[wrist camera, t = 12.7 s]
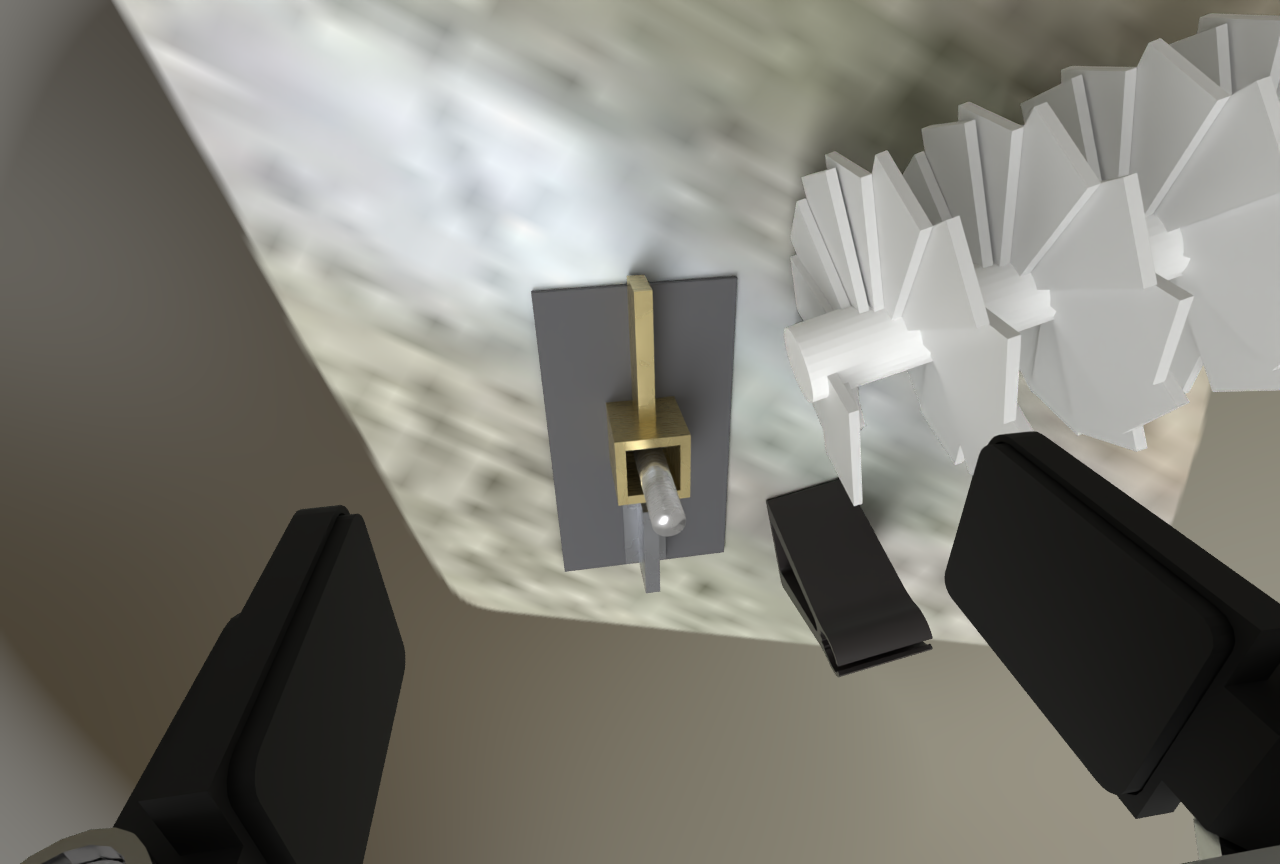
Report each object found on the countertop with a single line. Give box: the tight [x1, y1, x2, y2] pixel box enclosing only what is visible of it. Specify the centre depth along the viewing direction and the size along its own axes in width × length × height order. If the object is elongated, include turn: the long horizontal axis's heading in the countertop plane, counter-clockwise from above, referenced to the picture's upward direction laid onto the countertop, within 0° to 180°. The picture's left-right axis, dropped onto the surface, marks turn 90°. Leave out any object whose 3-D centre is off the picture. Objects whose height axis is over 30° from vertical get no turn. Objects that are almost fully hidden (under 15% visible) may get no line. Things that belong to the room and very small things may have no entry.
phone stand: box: [766, 479, 932, 677], centre depth 43 cm, size 9×6×12 cm, turn 14°
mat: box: [531, 276, 737, 572], centre depth 42 cm, size 21×12×1 cm, turn 2°
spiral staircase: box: [784, 13, 1280, 506], centre depth 30 cm, size 18×18×25 cm
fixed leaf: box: [622, 447, 686, 593], centre depth 39 cm, size 12×3×10 cm, turn 2°
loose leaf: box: [606, 275, 691, 506], centre depth 37 cm, size 12×4×5 cm, turn 2°
